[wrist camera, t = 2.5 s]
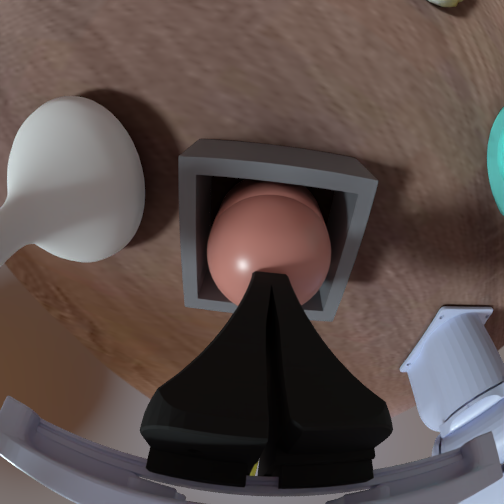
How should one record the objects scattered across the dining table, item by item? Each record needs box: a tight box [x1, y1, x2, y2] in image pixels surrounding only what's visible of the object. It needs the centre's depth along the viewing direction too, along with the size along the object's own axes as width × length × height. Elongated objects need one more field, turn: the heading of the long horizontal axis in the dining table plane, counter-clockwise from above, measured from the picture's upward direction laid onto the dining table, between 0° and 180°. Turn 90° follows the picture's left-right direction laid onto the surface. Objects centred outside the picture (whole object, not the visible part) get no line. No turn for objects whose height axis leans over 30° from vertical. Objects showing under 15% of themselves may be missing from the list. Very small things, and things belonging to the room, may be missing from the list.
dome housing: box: [178, 139, 378, 321], centre depth 16 cm, size 9×9×4 cm
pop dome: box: [207, 179, 331, 306], centre depth 14 cm, size 6×6×6 cm
